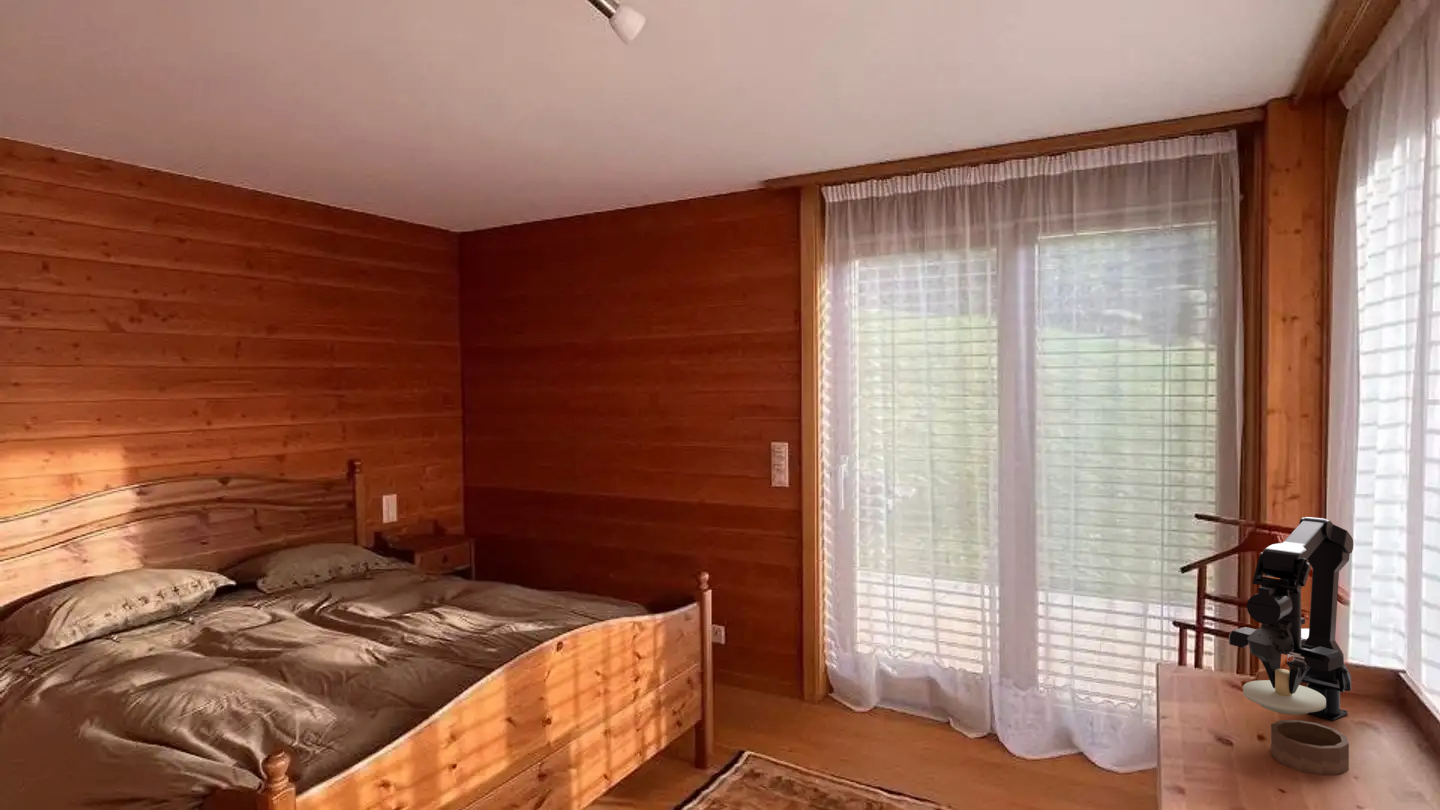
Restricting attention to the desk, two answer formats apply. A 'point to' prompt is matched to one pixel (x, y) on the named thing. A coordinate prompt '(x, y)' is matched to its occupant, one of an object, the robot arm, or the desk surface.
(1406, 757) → the desk surface
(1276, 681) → the lid
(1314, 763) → the box
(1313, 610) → the robot arm
